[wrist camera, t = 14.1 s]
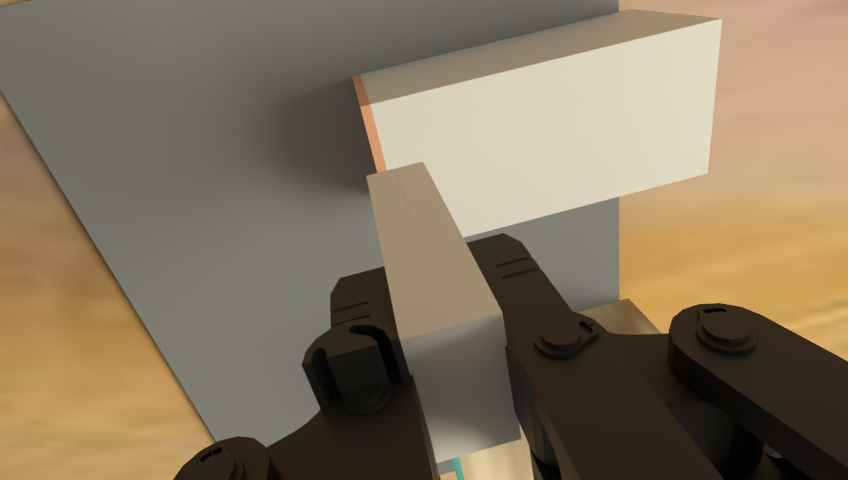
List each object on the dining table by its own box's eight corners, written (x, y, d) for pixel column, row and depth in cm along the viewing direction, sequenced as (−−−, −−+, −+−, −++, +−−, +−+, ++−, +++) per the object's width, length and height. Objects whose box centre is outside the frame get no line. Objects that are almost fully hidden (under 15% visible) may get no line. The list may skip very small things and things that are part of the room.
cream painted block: (399, 254, 16) (707, 173, 17) (360, 107, 14) (722, 18, 15) (383, 196, 21) (629, 133, 21) (352, 76, 18) (631, 9, 19)
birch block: (463, 503, 23) (682, 438, 24) (445, 432, 21) (689, 363, 22) (442, 420, 28) (627, 367, 28) (424, 354, 25) (628, 298, 26)
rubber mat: (268, 518, 30) (267, 525, 29) (-37, 16, 16) (-45, 17, 16) (615, 417, 31) (619, 422, 30) (612, -129, 17) (618, -131, 17)
